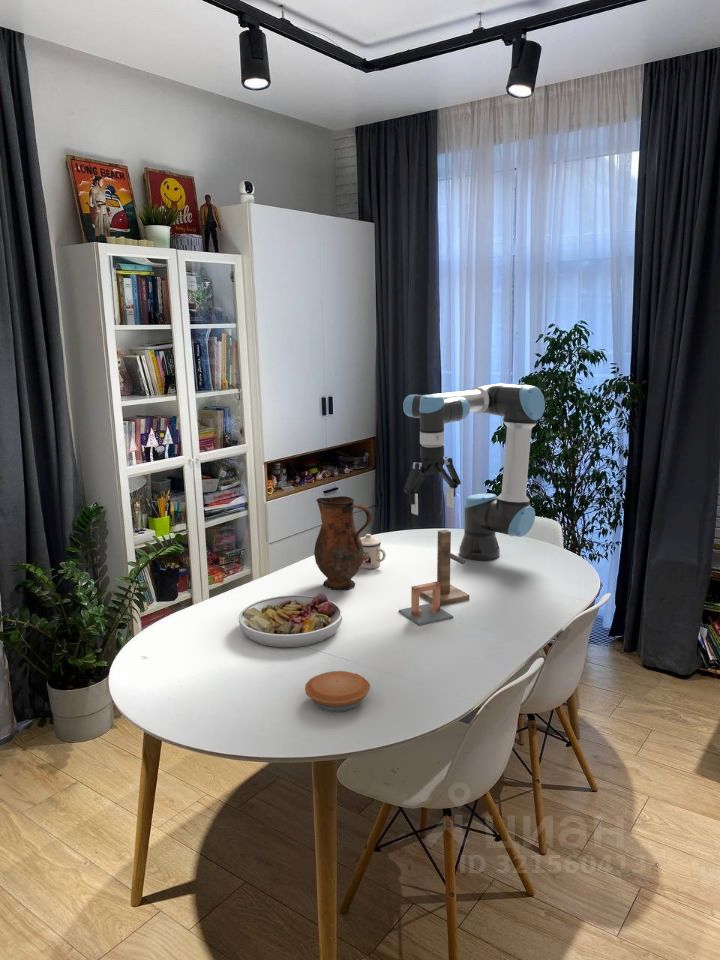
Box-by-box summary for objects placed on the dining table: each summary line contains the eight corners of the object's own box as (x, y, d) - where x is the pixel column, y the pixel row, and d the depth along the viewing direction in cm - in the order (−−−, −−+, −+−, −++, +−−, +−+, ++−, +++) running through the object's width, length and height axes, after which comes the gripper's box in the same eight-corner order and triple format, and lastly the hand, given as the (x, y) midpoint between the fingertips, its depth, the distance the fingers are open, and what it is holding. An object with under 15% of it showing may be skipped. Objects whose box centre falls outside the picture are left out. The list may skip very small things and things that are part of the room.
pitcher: (332, 573, 268) (330, 491, 262) (384, 584, 257) (383, 498, 250) (304, 587, 255) (301, 501, 248) (357, 600, 243) (356, 509, 237)
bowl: (287, 662, 201) (286, 635, 200) (218, 631, 221) (217, 606, 220) (363, 627, 223) (363, 602, 221) (294, 602, 243) (293, 579, 241)
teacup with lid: (351, 566, 276) (350, 535, 274) (366, 559, 283) (366, 529, 281) (377, 572, 269) (377, 541, 266) (392, 565, 276) (392, 535, 273)
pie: (373, 715, 174) (373, 695, 173) (306, 719, 173) (305, 699, 172) (366, 683, 189) (366, 664, 188) (304, 686, 188) (303, 668, 187)
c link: (436, 609, 234) (436, 581, 232) (440, 611, 232) (440, 583, 230) (411, 614, 230) (411, 586, 228) (414, 616, 228) (414, 588, 226)
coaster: (431, 604, 239) (431, 602, 239) (453, 617, 229) (453, 616, 228) (398, 611, 234) (398, 609, 234) (419, 625, 223) (419, 623, 223)
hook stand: (417, 593, 248) (418, 529, 243) (448, 587, 253) (449, 524, 249) (445, 611, 234) (446, 542, 229) (477, 604, 239) (479, 537, 234)
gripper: (404, 451, 227) (405, 519, 233) (471, 441, 239) (471, 506, 244) (391, 447, 234) (393, 513, 239) (457, 438, 245) (457, 501, 250)
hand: (432, 510), depth 241 cm, fingers open, 13 cm apart
